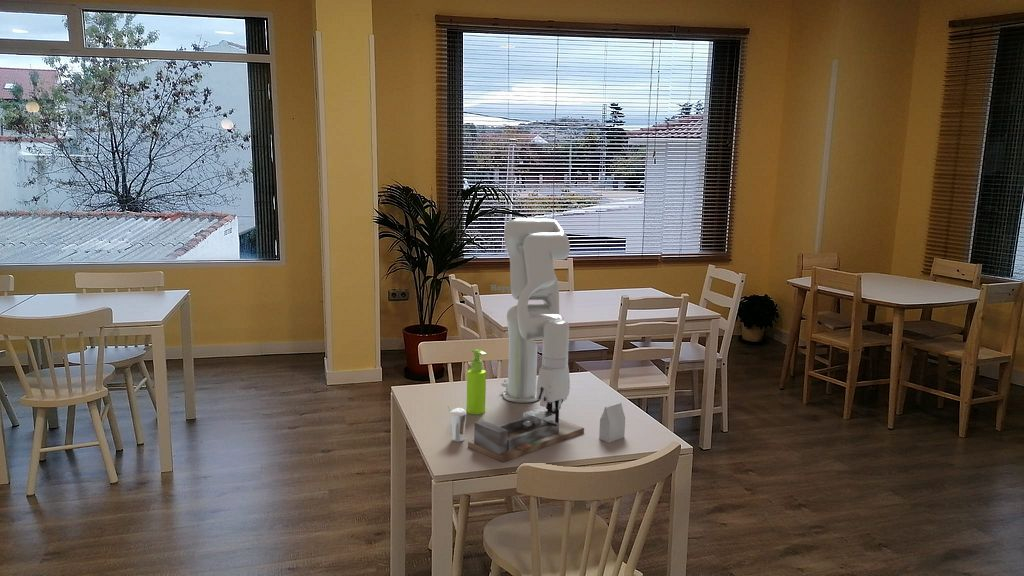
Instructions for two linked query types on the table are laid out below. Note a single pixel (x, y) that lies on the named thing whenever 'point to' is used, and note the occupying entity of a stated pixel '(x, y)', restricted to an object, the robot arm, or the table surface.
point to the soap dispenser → (476, 385)
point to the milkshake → (458, 424)
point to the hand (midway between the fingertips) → (552, 422)
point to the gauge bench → (518, 438)
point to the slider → (537, 419)
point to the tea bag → (612, 423)
